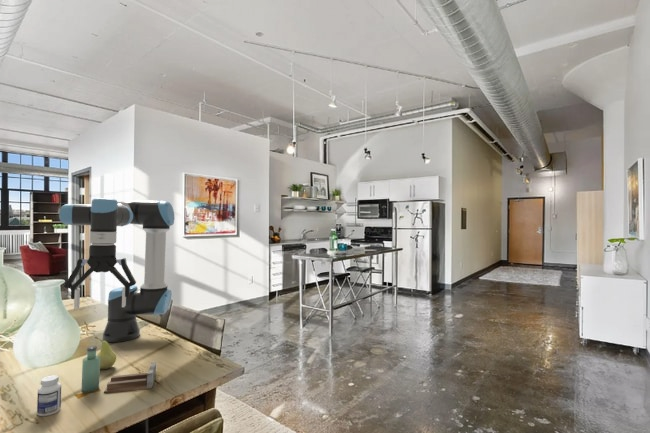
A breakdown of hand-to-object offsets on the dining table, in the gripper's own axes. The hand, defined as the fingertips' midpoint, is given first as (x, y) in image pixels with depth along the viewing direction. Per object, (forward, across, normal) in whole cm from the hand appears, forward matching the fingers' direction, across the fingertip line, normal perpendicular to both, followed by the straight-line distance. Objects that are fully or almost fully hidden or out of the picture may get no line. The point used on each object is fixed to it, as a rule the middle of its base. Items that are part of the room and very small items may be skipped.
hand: (100, 307), depth 116 cm
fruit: (+26, -1, +15) cm, 30 cm away
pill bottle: (+27, -9, -13) cm, 31 cm away
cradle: (+26, +10, -2) cm, 28 cm away
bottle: (+26, -2, -1) cm, 26 cm away
